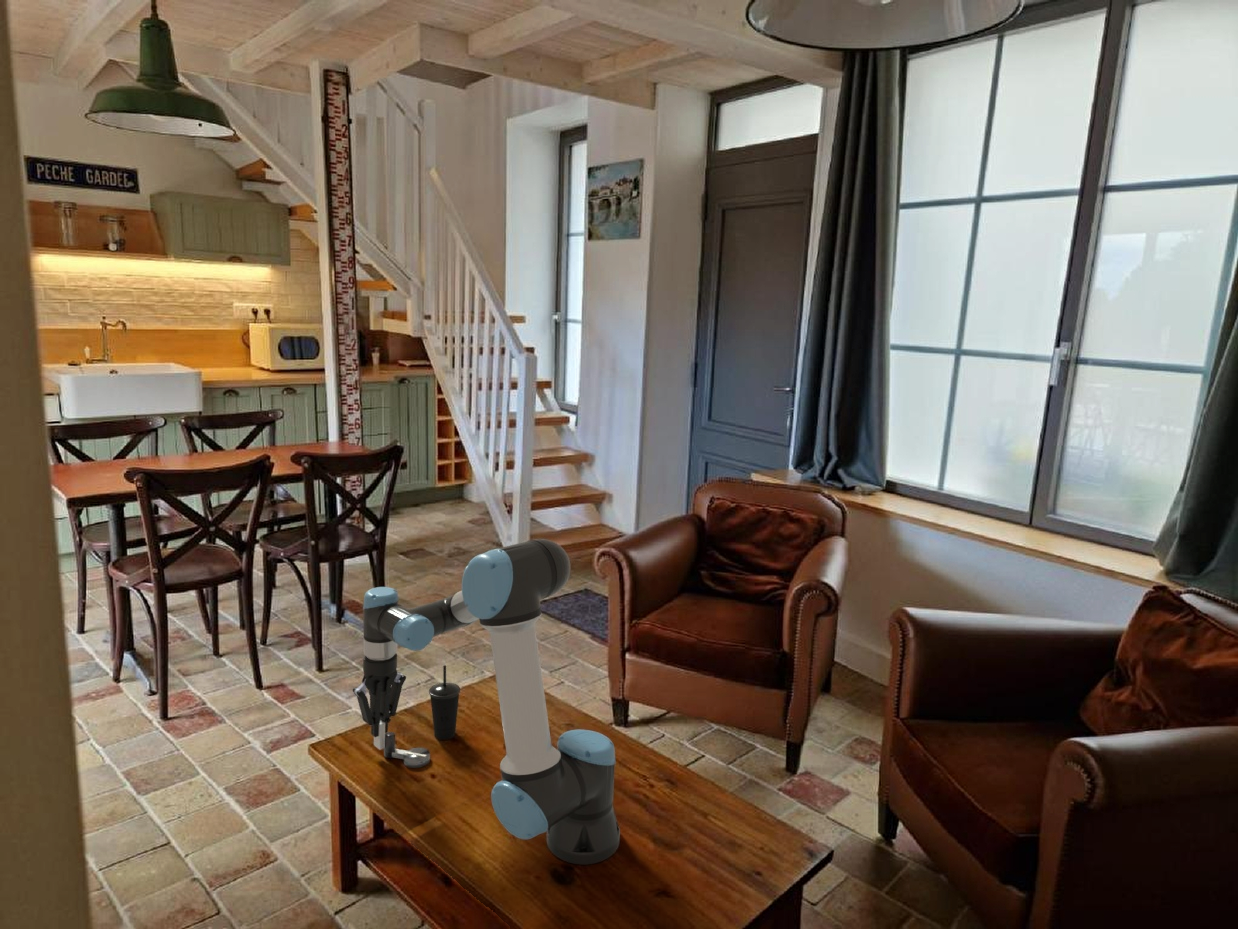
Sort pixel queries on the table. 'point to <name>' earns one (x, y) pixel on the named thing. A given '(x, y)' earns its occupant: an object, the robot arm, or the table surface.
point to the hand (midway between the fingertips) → (379, 746)
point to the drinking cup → (444, 708)
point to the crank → (406, 753)
